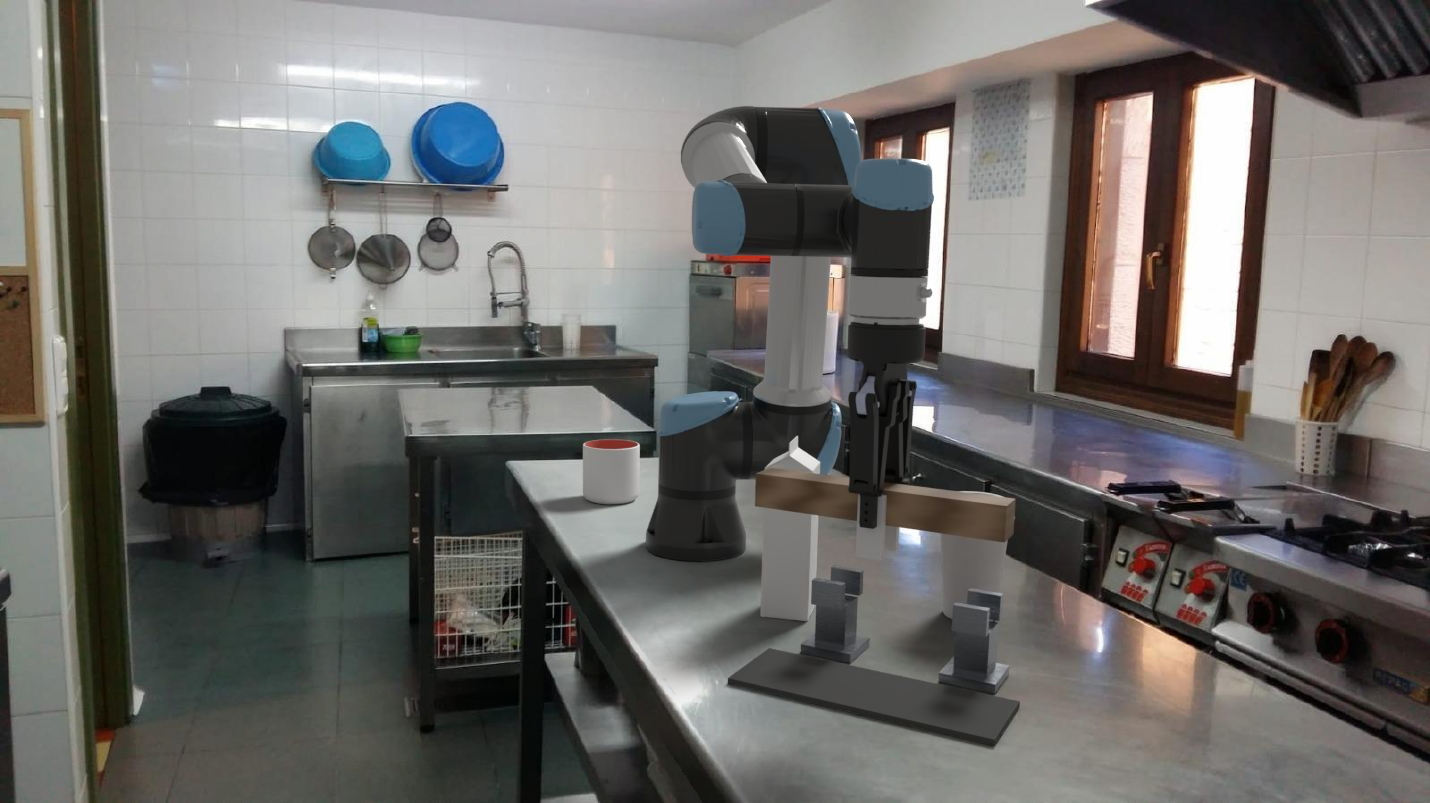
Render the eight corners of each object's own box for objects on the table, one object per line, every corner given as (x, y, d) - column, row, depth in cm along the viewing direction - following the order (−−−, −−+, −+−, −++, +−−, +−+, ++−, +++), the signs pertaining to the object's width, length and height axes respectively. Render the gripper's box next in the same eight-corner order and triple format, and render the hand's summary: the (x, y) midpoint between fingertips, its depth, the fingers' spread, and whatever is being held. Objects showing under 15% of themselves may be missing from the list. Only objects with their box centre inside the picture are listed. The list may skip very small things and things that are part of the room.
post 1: (799, 653, 124) (801, 578, 122) (822, 635, 129) (824, 563, 128) (849, 663, 121) (852, 586, 120) (870, 645, 127) (873, 571, 125)
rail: (754, 506, 115) (755, 473, 114) (769, 499, 118) (770, 467, 117) (1004, 542, 102) (1006, 505, 102) (1013, 534, 105) (1015, 498, 105)
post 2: (937, 682, 116) (941, 602, 115) (955, 662, 122) (959, 586, 121) (994, 694, 113) (999, 612, 112) (1009, 673, 119) (1014, 595, 118)
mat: (727, 683, 115) (727, 677, 115) (768, 652, 124) (769, 647, 124) (994, 745, 102) (994, 739, 102) (1019, 706, 111) (1019, 701, 110)
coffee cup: (916, 606, 140) (921, 492, 138) (977, 598, 144) (983, 487, 142) (960, 631, 132) (967, 510, 130) (1024, 622, 136) (1032, 504, 133)
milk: (760, 617, 136) (763, 442, 132) (769, 601, 141) (773, 433, 138) (809, 622, 134) (813, 444, 131) (816, 606, 140) (821, 436, 137)
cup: (650, 498, 197) (650, 443, 195) (616, 508, 188) (616, 451, 187) (606, 490, 202) (606, 437, 201) (571, 500, 194) (571, 444, 192)
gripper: (895, 327, 98) (884, 580, 102) (949, 318, 113) (937, 539, 116) (818, 323, 102) (810, 567, 105) (879, 314, 116) (870, 529, 120)
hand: (877, 552), depth 111 cm, fingers closed on rail, 3 cm apart
